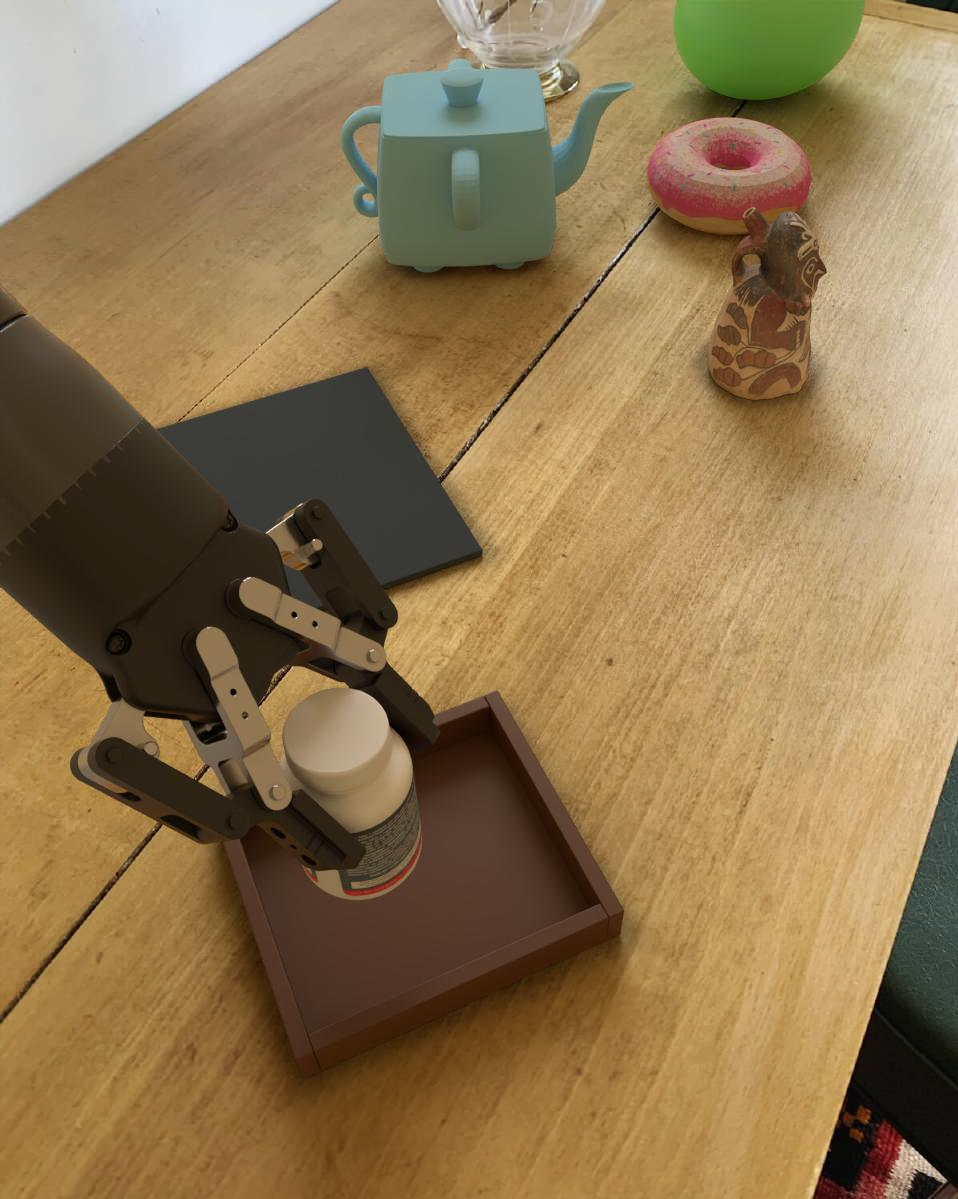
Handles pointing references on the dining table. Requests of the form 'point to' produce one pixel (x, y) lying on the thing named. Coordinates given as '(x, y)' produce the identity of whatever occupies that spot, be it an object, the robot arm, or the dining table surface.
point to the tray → (431, 899)
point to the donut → (727, 174)
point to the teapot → (469, 165)
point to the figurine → (767, 310)
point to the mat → (331, 474)
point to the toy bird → (764, 43)
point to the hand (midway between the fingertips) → (388, 799)
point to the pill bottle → (356, 786)
